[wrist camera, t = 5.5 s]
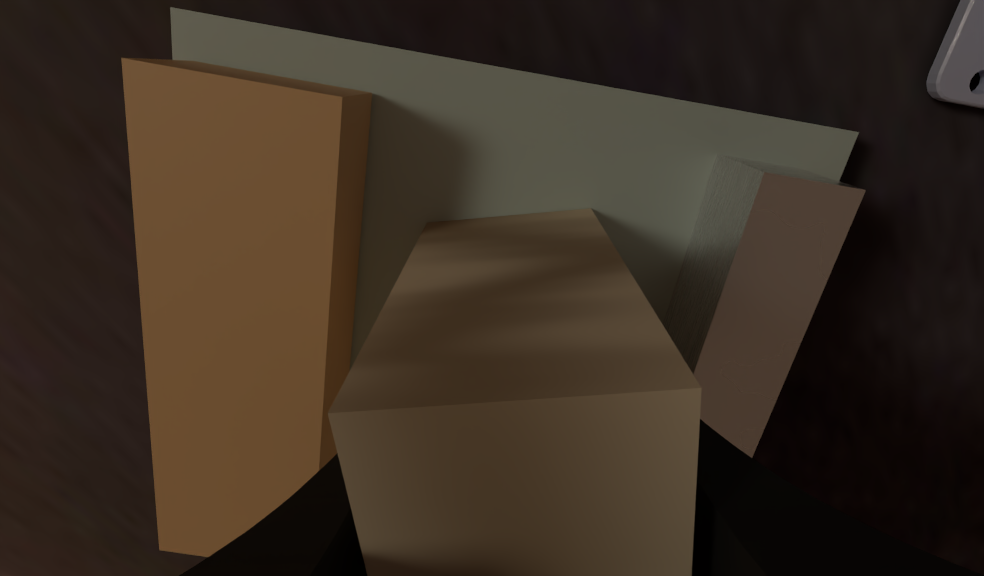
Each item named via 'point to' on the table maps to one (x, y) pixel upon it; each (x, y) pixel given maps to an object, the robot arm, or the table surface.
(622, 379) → the maple block
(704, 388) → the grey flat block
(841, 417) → the table surface
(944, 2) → the table surface
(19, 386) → the table surface
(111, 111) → the table surface
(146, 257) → the block
